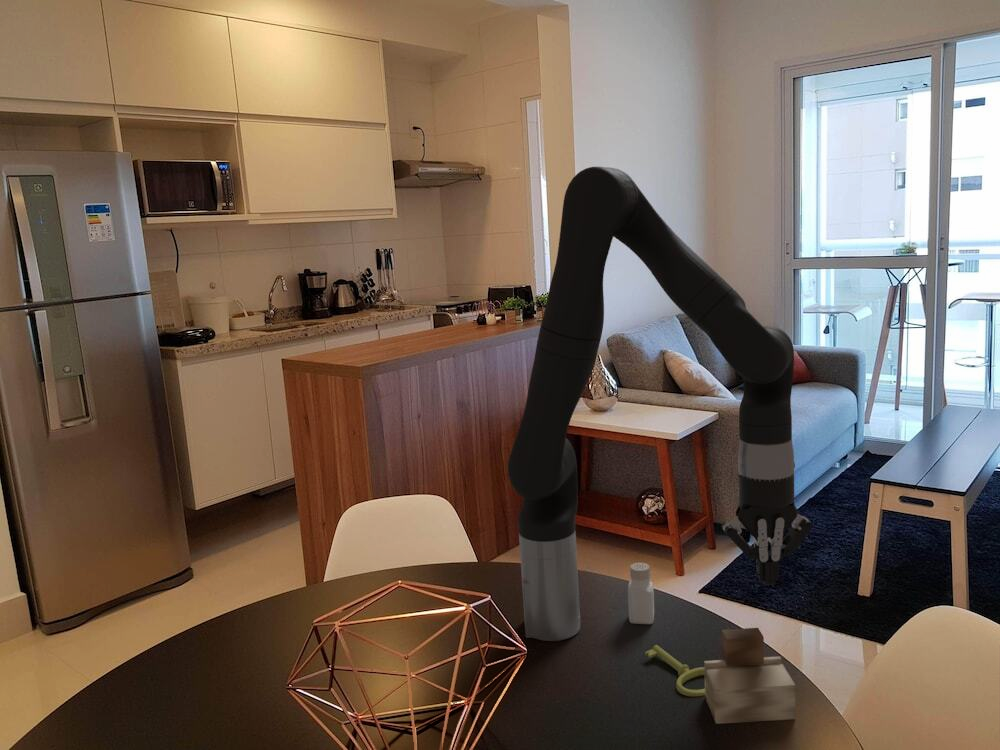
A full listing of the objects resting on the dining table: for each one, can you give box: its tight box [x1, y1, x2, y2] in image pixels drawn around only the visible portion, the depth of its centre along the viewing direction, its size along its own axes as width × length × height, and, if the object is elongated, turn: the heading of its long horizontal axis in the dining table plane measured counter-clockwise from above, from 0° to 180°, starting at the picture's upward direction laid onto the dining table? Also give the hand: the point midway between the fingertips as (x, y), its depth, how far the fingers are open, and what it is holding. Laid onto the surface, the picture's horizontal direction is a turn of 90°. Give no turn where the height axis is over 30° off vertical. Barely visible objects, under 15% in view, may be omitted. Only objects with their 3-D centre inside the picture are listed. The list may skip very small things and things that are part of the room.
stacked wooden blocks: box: [703, 627, 783, 698], centre depth 111 cm, size 10×6×9 cm, turn 90°
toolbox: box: [705, 663, 796, 725], centre depth 110 cm, size 10×5×5 cm, turn 90°
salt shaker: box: [627, 562, 655, 625], centre depth 136 cm, size 4×4×10 cm
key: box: [644, 644, 705, 697], centre depth 120 cm, size 7×12×2 cm, turn 48°
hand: (767, 582), depth 119 cm, fingers closed
